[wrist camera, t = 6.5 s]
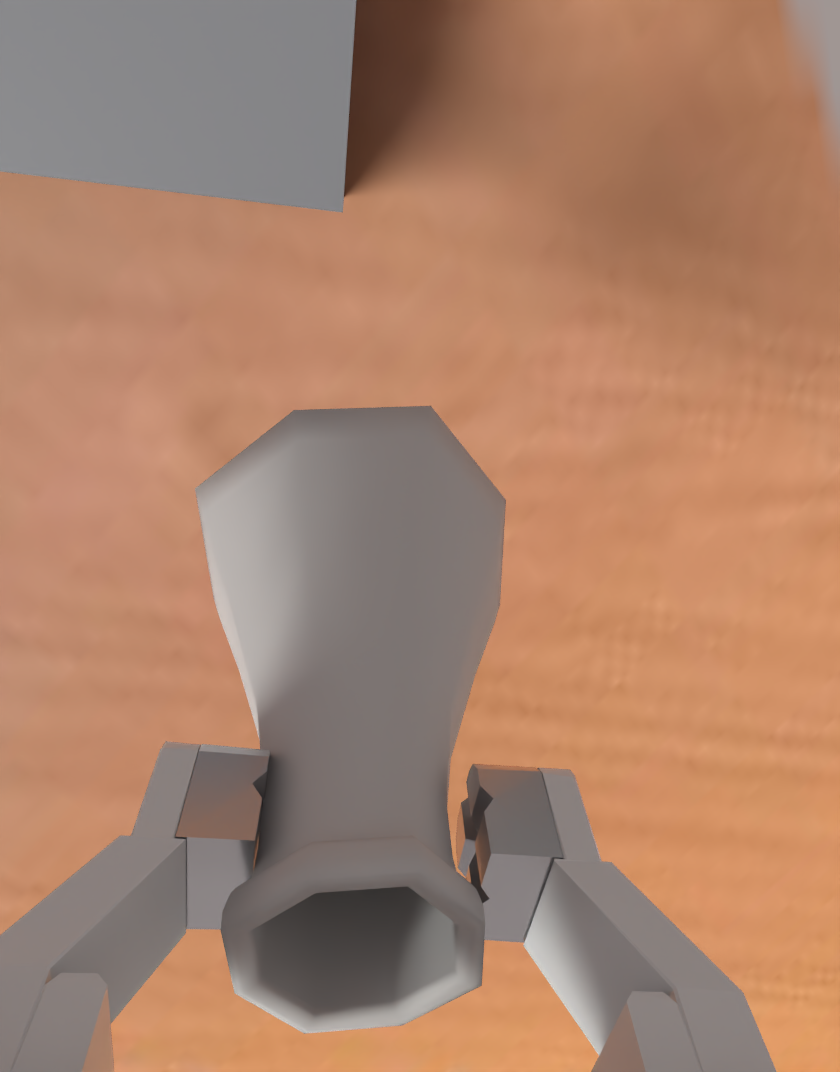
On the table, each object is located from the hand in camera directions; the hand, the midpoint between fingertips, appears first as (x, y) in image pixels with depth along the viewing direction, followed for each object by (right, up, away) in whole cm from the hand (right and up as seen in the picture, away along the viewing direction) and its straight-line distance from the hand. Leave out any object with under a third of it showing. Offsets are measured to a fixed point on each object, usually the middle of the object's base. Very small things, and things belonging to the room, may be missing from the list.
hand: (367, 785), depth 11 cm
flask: (-1, +4, +7) cm, 8 cm away
